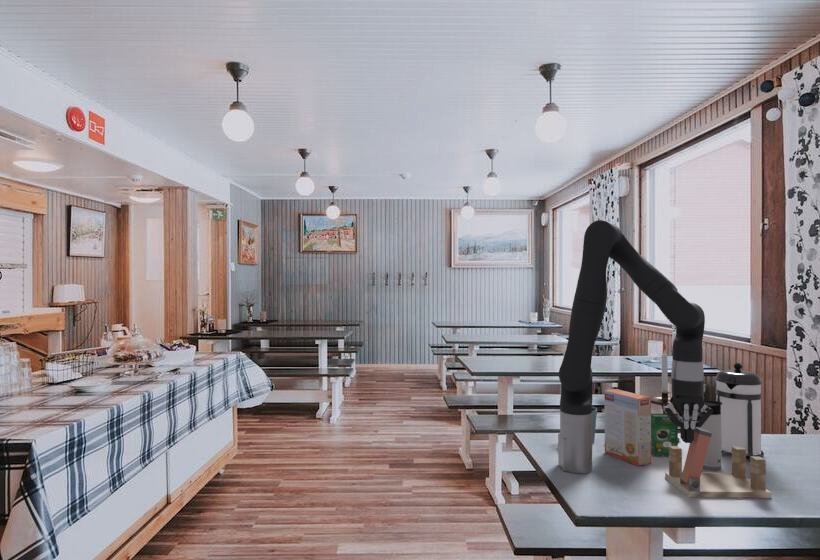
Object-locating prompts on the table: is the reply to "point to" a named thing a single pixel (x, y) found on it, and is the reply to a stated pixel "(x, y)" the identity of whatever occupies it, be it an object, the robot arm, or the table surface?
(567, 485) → the table surface
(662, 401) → the candlestick
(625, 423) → the cracker box
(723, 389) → the coffee press
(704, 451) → the folding leg
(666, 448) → the coffee box
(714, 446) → the travel mug
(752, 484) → the stool seat
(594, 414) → the drinking glass
